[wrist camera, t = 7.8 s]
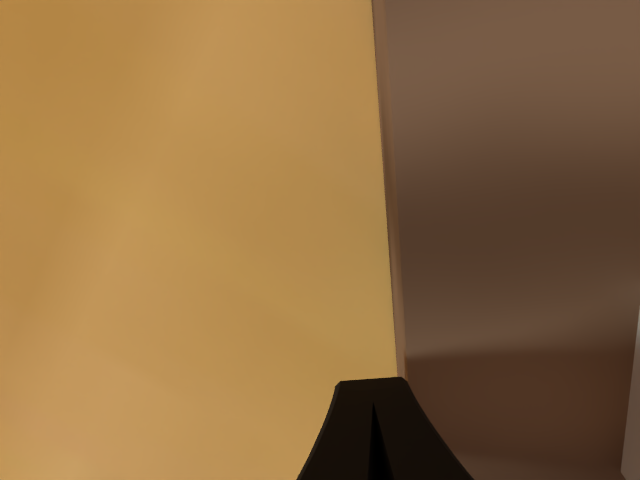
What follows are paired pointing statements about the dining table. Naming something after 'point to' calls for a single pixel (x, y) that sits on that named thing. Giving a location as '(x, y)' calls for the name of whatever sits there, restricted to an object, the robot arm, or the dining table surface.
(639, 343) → the beige block
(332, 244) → the dining table surface
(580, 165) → the board
